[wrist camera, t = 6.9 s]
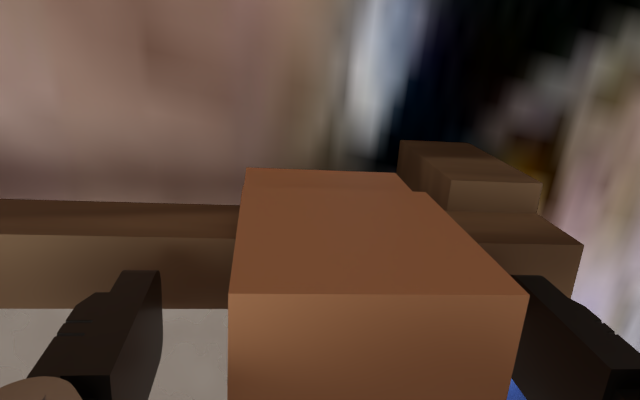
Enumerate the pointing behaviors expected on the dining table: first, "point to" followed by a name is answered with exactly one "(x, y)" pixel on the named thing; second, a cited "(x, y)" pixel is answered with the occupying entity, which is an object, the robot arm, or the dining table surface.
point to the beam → (221, 226)
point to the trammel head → (363, 295)
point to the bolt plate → (176, 359)
